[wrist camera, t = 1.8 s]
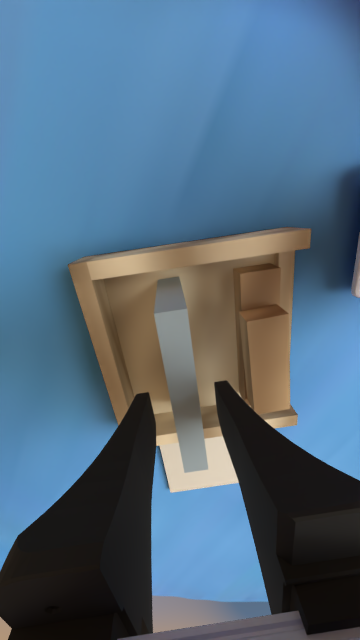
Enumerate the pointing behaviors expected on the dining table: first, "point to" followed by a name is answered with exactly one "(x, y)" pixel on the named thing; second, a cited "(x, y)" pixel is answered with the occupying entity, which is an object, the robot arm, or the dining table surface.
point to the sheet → (180, 372)
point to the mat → (214, 476)
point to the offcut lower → (253, 302)
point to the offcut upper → (266, 358)
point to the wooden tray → (203, 313)
